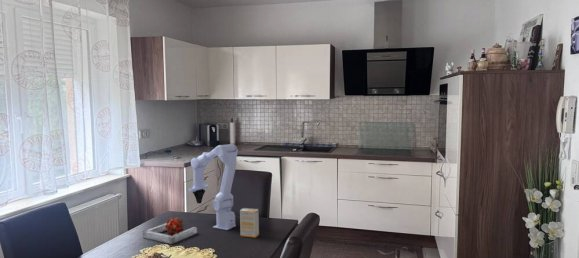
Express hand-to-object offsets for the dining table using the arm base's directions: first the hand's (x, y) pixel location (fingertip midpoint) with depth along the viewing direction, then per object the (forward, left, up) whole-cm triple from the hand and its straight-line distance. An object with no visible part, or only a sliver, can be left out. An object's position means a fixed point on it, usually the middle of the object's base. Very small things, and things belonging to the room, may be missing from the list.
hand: (199, 203), depth 215 cm
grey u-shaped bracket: (-5, +26, -9) cm, 28 cm away
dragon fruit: (-5, +24, -10) cm, 27 cm away
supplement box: (-40, +9, -10) cm, 42 cm away
